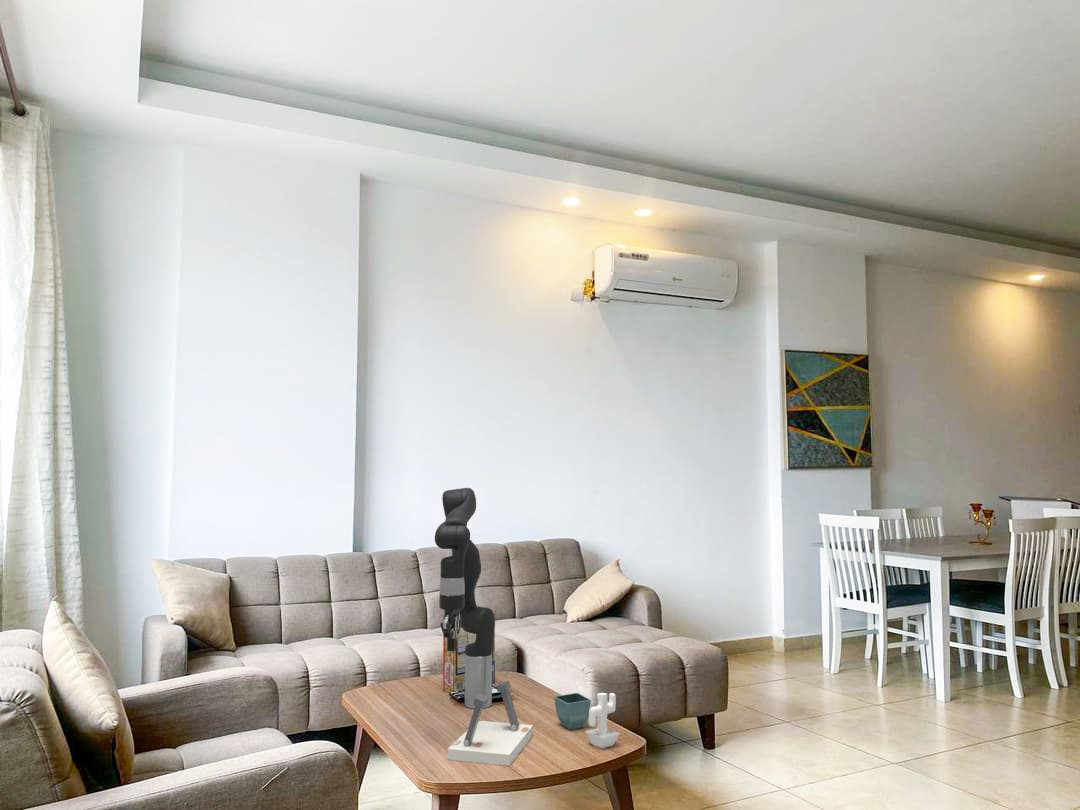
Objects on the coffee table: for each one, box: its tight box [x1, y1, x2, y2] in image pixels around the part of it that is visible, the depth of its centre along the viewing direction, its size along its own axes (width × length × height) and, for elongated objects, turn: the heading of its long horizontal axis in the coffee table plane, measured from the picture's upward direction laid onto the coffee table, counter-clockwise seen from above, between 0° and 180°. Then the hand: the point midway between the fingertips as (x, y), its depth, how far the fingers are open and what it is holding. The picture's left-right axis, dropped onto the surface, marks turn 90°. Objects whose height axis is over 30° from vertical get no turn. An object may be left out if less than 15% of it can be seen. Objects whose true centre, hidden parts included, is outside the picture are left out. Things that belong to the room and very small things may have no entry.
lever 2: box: [496, 679, 520, 731], centre depth 250 cm, size 4×3×14 cm, turn 166°
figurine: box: [584, 692, 620, 749], centre depth 245 cm, size 7×9×15 cm
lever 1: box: [463, 694, 489, 746], centre depth 236 cm, size 4×3×14 cm, turn 166°
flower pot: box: [553, 692, 592, 730], centre depth 261 cm, size 9×9×9 cm
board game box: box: [442, 610, 496, 694], centre depth 306 cm, size 20×6×27 cm, turn 135°
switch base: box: [447, 720, 534, 767], centre depth 243 cm, size 26×18×3 cm
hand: (451, 650), depth 247 cm, fingers closed
